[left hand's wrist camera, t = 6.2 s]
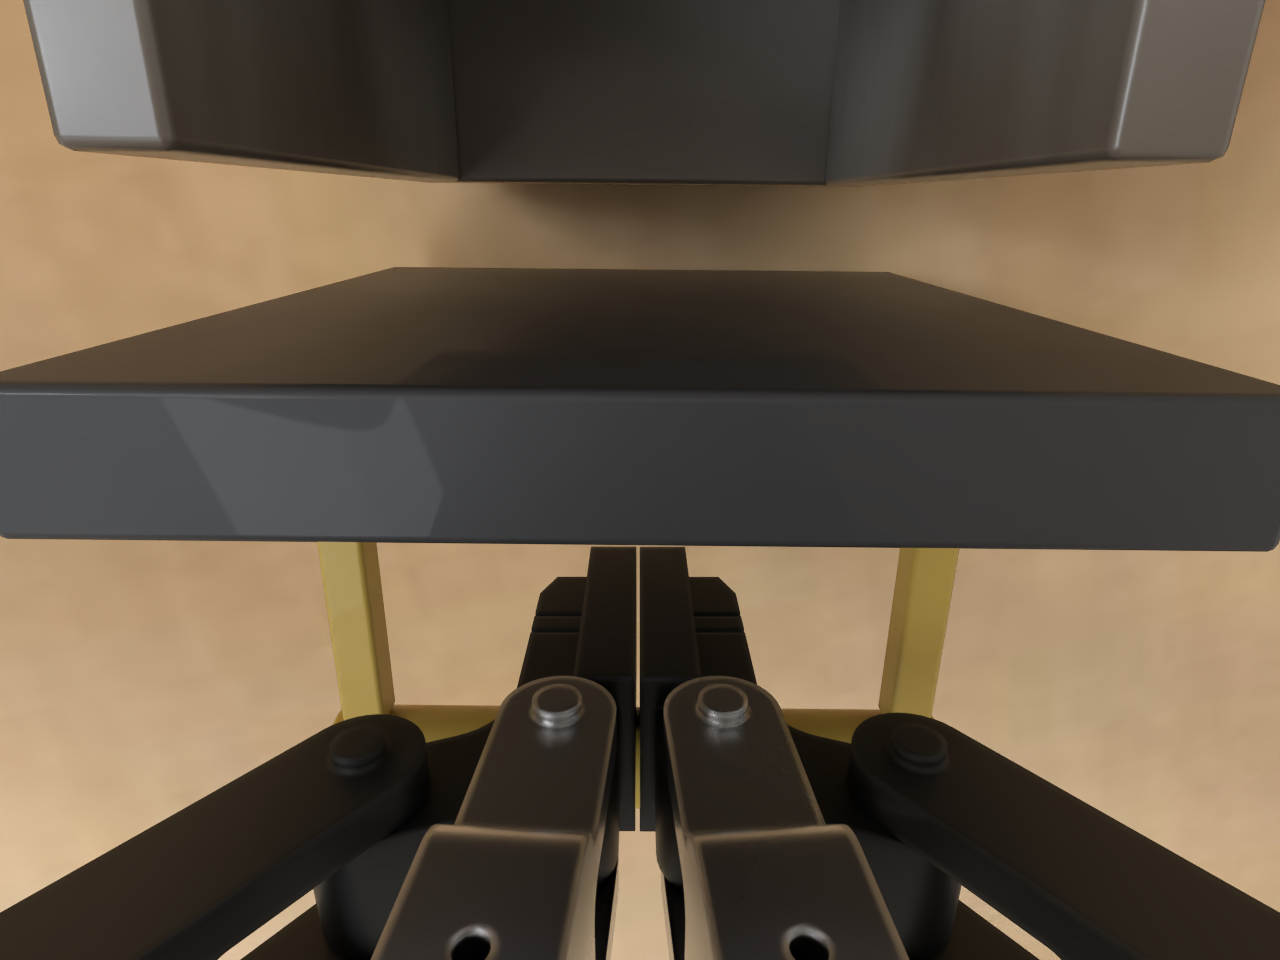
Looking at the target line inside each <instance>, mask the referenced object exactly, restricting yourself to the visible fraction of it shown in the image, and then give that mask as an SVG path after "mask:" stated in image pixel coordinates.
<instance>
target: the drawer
mask: <svg viewBox="0 0 1280 960" xmlns="http://www.w3.org/2000/svg"><path fill="white" fill-rule="evenodd" d="M23 1H24V5H25V10H26V14H27V18H28V23H29V27H30V31H31V36H32V40H33V44H34V49H35V53H36V57H37V62H38V66H39V70H40V75H41V79H42V83H43V88H44V92H45V96H46V101H47V105H48V109H49V114H50V118H51V123H52V127H53V131H54V135H55V137H56V139H57V140H58V142H59V144H61V145H62V146H64V147H67V148H69V149H71V150H74V151H83V152H94V153H105V154H117V155H128V156H139V157H150V158H162V159H173V160H184V161H195V162H206V163H218V164H229V165H240V166H251V167H262V168H274V169H285V170H296V171H307V172H318V173H330V174H341V175H352V176H363V177H374V178H386V179H397V180H408V181H419V182H434V183H532V184H630V185H728V186H826V187H859V186H873V185H888V184H902V183H917V182H931V181H946V180H960V179H974V178H989V177H1003V176H1018V175H1032V174H1047V173H1061V172H1076V171H1090V170H1104V169H1119V168H1133V167H1148V166H1162V165H1177V164H1191V163H1206V162H1211V161H1213V160H1216V159H1219V158H1221V157H1222V156H1224V154H1225V152H1226V151H1227V149H1228V147H1229V143H1230V139H1231V135H1232V131H1233V127H1234V123H1235V119H1236V115H1237V111H1238V107H1239V103H1240V99H1241V95H1242V91H1243V87H1244V83H1245V79H1246V75H1247V71H1248V67H1249V63H1250V59H1251V55H1252V51H1253V47H1254V43H1255V39H1256V35H1257V31H1258V27H1259V23H1260V19H1261V15H1262V11H1263V7H1264V3H1265V0H23ZM0 536H1V537H4V538H7V539H96V540H195V541H293V542H317V544H318V551H319V558H320V564H321V571H322V578H323V585H324V591H325V598H326V605H327V612H328V619H329V625H330V632H331V639H332V646H333V652H334V659H335V666H336V673H337V680H338V686H339V693H340V700H341V707H342V710H341V711H340V712H339V714H338V715H337V717H336V719H335V721H334V724H336V723H339V722H341V721H344V720H347V719H351V718H354V717H359V716H364V715H373V714H388V715H394V716H399V717H402V718H405V719H408V720H409V721H411V722H413V723H414V724H416V725H417V726H418V727H419V728H420V729H421V731H422V732H423V734H424V737H425V741H426V743H427V742H431V741H435V740H440V739H444V738H449V737H453V736H457V735H461V734H465V733H468V732H471V731H473V730H476V729H478V728H480V727H482V726H484V725H486V724H488V723H490V722H491V721H493V720H494V719H495V718H496V716H497V713H498V711H499V708H500V706H462V705H394V702H395V697H394V688H393V680H392V672H391V663H390V655H389V646H388V638H387V629H386V621H385V613H384V604H383V596H382V587H381V579H380V570H379V562H378V554H377V545H376V542H391V543H489V544H588V545H686V546H784V547H882V548H900V554H899V561H898V569H897V576H896V583H895V590H894V597H893V605H892V612H891V619H890V626H889V634H888V641H887V648H886V655H885V662H884V670H883V677H882V684H881V691H880V699H879V709H880V710H855V709H781V711H782V713H783V716H784V718H785V721H786V724H788V725H790V726H792V727H794V728H796V729H798V730H800V731H803V732H806V733H809V734H812V735H816V736H820V737H824V738H829V739H833V740H838V741H842V742H847V743H851V741H852V736H853V733H854V731H855V729H856V728H857V727H858V725H859V724H861V723H862V722H863V721H864V720H866V719H868V718H870V717H873V716H876V715H879V714H885V713H911V714H917V715H922V716H925V717H929V718H932V719H934V718H933V717H932V716H931V714H932V708H933V702H934V696H935V690H936V684H937V678H938V672H939V666H940V660H941V654H942V649H943V643H944V637H945V631H946V625H947V619H948V613H949V607H950V601H951V595H952V589H953V583H954V577H955V571H956V565H957V559H958V553H959V548H981V549H1079V550H1177V551H1270V550H1273V549H1274V548H1275V547H1276V546H1277V545H1278V543H1279V540H1280V385H1277V384H1273V383H1270V382H1266V381H1263V380H1259V379H1256V378H1253V377H1249V376H1246V375H1242V374H1239V373H1235V372H1232V371H1228V370H1225V369H1221V368H1218V367H1214V366H1211V365H1208V364H1204V363H1201V362H1197V361H1194V360H1190V359H1187V358H1183V357H1180V356H1176V355H1173V354H1169V353H1166V352H1162V351H1159V350H1156V349H1152V348H1149V347H1145V346H1142V345H1138V344H1135V343H1131V342H1128V341H1124V340H1121V339H1117V338H1114V337H1111V336H1107V335H1104V334H1100V333H1097V332H1093V331H1090V330H1086V329H1083V328H1079V327H1076V326H1072V325H1069V324H1066V323H1062V322H1059V321H1055V320H1052V319H1048V318H1045V317H1041V316H1038V315H1034V314H1031V313H1027V312H1024V311H1020V310H1017V309H1014V308H1010V307H1007V306H1003V305H1000V304H996V303H993V302H989V301H986V300H982V299H979V298H975V297H972V296H969V295H965V294H962V293H958V292H955V291H951V290H948V289H944V288H941V287H937V286H934V285H930V284H927V283H923V282H920V281H917V280H913V279H910V278H906V277H903V276H899V275H896V274H892V273H889V272H814V271H716V270H618V269H520V268H422V267H394V268H390V269H386V270H382V271H379V272H375V273H371V274H367V275H363V276H360V277H356V278H352V279H348V280H345V281H341V282H337V283H333V284H330V285H326V286H322V287H318V288H314V289H311V290H307V291H303V292H299V293H296V294H292V295H288V296H284V297H280V298H277V299H273V300H269V301H265V302H262V303H258V304H254V305H250V306H247V307H243V308H239V309H235V310H231V311H228V312H224V313H220V314H216V315H213V316H209V317H205V318H201V319H197V320H194V321H190V322H186V323H182V324H179V325H175V326H171V327H167V328H164V329H160V330H156V331H152V332H148V333H145V334H141V335H137V336H133V337H130V338H126V339H122V340H118V341H115V342H111V343H107V344H103V345H99V346H96V347H92V348H88V349H84V350H81V351H77V352H73V353H69V354H65V355H62V356H58V357H54V358H50V359H47V360H43V361H39V362H35V363H32V364H28V365H24V366H20V367H16V368H13V369H9V370H5V371H1V372H0ZM334 724H333V725H334ZM635 808H640V707H636V782H635Z"/></svg>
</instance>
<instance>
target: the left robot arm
mask: <svg viewBox="0 0 1280 960" xmlns="http://www.w3.org/2000/svg"><path fill="white" fill-rule="evenodd" d="M635 782H636V547H591V552H590V559H589V566H588V574H587V577H557V578H556V579H555V580H554V581H553V582H552V583H551V584H550V585H549V586H548V587H547V588H546V589H544V590H543V591H542V592H541V593H540V597H539V601H538V605H537V609H536V616H535V617H534V621H533V625H532V633H530V638H529V642H528V646H527V650H526V654H525V658H524V662H523V666H522V670H521V674H520V678H519V682H518V686H517V689H515V690H514V691H513V692H512V693H510V694H509V695H508V696H507V697H506V698H505V700H504V701H503V702H502V704H501V706H500V708H499V711H498V713H497V716H496V718H495V719H494V720H493V721H491V722H490V723H488V724H486V725H484V726H482V727H480V728H478V729H476V730H473V731H471V732H468V733H465V734H461V735H457V736H453V737H449V738H444V739H440V740H435V741H431V742H427V743H426V741H425V737H424V734H423V732H422V731H421V729H420V728H419V727H418V726H417V725H416V724H414V723H413V722H411V721H409V720H408V719H405V718H402V717H399V716H394V715H388V714H373V715H364V716H359V717H354V718H351V719H347V720H344V721H341V722H339V723H336V724H334V725H332V726H330V727H328V728H326V729H324V730H322V731H320V732H319V733H317V734H315V735H313V736H312V737H310V738H308V739H306V740H305V741H303V742H301V743H299V744H297V745H296V746H294V747H292V748H290V749H289V750H287V751H285V752H283V753H282V754H280V755H278V756H276V757H274V758H273V759H271V760H269V761H267V762H266V763H264V764H262V765H260V766H259V767H257V768H255V769H253V770H252V771H250V772H248V773H246V774H244V775H243V776H241V777H239V778H237V779H236V780H234V781H232V782H230V783H229V784H227V785H225V786H223V787H221V788H220V789H218V790H216V791H214V792H213V793H211V794H209V795H207V796H206V797H204V798H202V799H200V800H199V801H197V802H195V803H193V804H191V805H190V806H188V807H186V808H184V809H183V810H181V811H179V812H177V813H176V814H174V815H172V816H170V817H169V818H167V819H165V820H163V821H161V822H160V823H158V824H156V825H154V826H153V827H151V828H149V829H147V830H146V831H144V832H142V833H140V834H138V835H137V836H135V837H133V838H131V839H130V840H128V841H126V842H124V843H123V844H121V845H119V846H117V847H116V848H114V849H112V850H110V851H108V852H107V853H105V854H103V855H101V856H100V857H98V858H96V859H94V860H93V861H91V862H89V863H87V864H86V865H84V866H82V867H80V868H78V869H77V870H75V871H73V872H71V873H70V874H68V875H66V876H64V877H63V878H61V879H59V880H57V881H55V882H54V883H52V884H50V885H48V886H47V887H45V888H43V889H41V890H40V891H38V892H36V893H34V894H33V895H31V896H29V897H27V898H25V899H24V900H22V901H20V902H18V903H17V904H15V905H13V906H11V907H10V908H8V909H6V910H4V911H3V912H1V913H0V960H218V959H219V958H220V957H221V956H222V955H223V954H224V953H225V952H227V951H228V950H229V949H231V948H232V947H233V946H235V945H236V944H238V943H239V942H240V941H242V940H243V939H244V938H246V937H247V936H249V935H250V934H251V933H253V932H254V931H255V930H257V929H258V928H260V927H261V926H262V925H264V924H265V923H266V922H268V921H269V920H271V919H272V918H273V917H275V916H276V915H278V914H279V913H280V912H282V911H283V910H284V909H286V908H287V907H289V906H290V905H291V904H293V903H294V902H295V901H297V900H298V899H300V898H301V897H302V896H304V895H305V894H307V893H308V892H309V891H311V890H312V889H314V894H315V899H316V904H315V905H314V906H312V907H311V908H310V909H308V910H307V911H306V912H304V913H303V914H301V915H300V916H299V917H297V918H296V919H295V920H293V921H292V922H291V923H289V924H288V925H287V926H285V927H284V928H283V929H281V930H280V931H279V932H277V933H276V934H275V935H273V936H272V937H270V938H269V939H268V940H266V941H265V942H264V943H262V944H261V945H260V946H258V947H257V948H256V949H254V950H253V951H252V952H250V953H249V954H248V955H246V956H245V957H244V958H242V959H241V960H610V958H611V949H612V941H613V932H614V924H615V916H616V907H617V899H618V890H619V868H618V849H619V831H635ZM640 831H656V855H657V862H658V864H659V867H660V869H661V890H662V899H663V907H664V916H665V924H666V933H667V941H668V949H669V958H670V960H1039V959H1038V958H1036V957H1035V956H1034V955H1032V954H1031V953H1030V952H1028V951H1027V950H1026V949H1024V948H1023V947H1022V946H1020V945H1019V944H1018V943H1016V942H1015V941H1014V940H1012V939H1011V938H1010V937H1008V936H1007V935H1005V934H1004V933H1003V932H1001V931H1000V930H999V929H997V928H996V927H995V926H993V925H992V924H991V923H989V922H988V921H987V920H985V919H984V918H983V917H981V916H980V915H979V914H977V913H976V912H974V911H973V910H972V909H970V908H969V907H968V906H966V905H965V904H964V903H962V902H961V901H960V900H958V899H959V895H960V890H961V885H962V886H964V887H965V888H967V889H968V890H969V891H971V892H972V893H973V894H975V895H976V896H978V897H979V898H980V899H982V900H983V901H984V902H986V903H987V904H989V905H990V906H991V907H993V908H994V909H996V910H997V911H998V912H1000V913H1001V914H1002V915H1004V916H1005V917H1007V918H1008V919H1009V920H1011V921H1012V922H1013V923H1015V924H1016V925H1018V926H1019V927H1020V928H1022V929H1023V930H1025V931H1026V932H1027V933H1029V934H1030V935H1031V936H1033V937H1034V938H1036V939H1037V940H1038V941H1040V942H1041V943H1042V944H1044V945H1045V946H1047V947H1048V948H1049V949H1050V950H1052V951H1053V952H1054V953H1055V954H1056V955H1057V956H1058V957H1059V958H1060V959H1061V960H1280V913H1279V912H1277V911H1276V910H1274V909H1272V908H1270V907H1269V906H1267V905H1265V904H1263V903H1262V902H1260V901H1258V900H1256V899H1255V898H1253V897H1251V896H1249V895H1247V894H1246V893H1244V892H1242V891H1240V890H1239V889H1237V888H1235V887H1233V886H1232V885H1230V884H1228V883H1226V882H1224V881H1223V880H1221V879H1219V878H1217V877H1216V876H1214V875H1212V874H1210V873H1209V872H1207V871H1205V870H1203V869H1202V868H1200V867H1198V866H1196V865H1194V864H1193V863H1191V862H1189V861H1187V860H1186V859H1184V858H1182V857H1180V856H1179V855H1177V854H1175V853H1173V852H1172V851H1170V850H1168V849H1166V848H1164V847H1163V846H1161V845H1159V844H1157V843H1156V842H1154V841H1152V840H1150V839H1149V838H1147V837H1145V836H1143V835H1141V834H1140V833H1138V832H1136V831H1134V830H1133V829H1131V828H1129V827H1127V826H1126V825H1124V824H1122V823H1120V822H1119V821H1117V820H1115V819H1113V818H1111V817H1110V816H1108V815H1106V814H1104V813H1103V812H1101V811H1099V810H1097V809H1096V808H1094V807H1092V806H1090V805H1089V804H1087V803H1085V802H1083V801H1081V800H1080V799H1078V798H1076V797H1074V796H1073V795H1071V794H1069V793H1067V792H1066V791H1064V790H1062V789H1060V788H1058V787H1057V786H1055V785H1053V784H1051V783H1050V782H1048V781H1046V780H1044V779H1043V778H1041V777H1039V776H1037V775H1036V774H1034V773H1032V772H1030V771H1028V770H1027V769H1025V768H1023V767H1021V766H1020V765H1018V764H1016V763H1014V762H1013V761H1011V760H1009V759H1007V758H1006V757H1004V756H1002V755H1000V754H998V753H997V752H995V751H993V750H991V749H990V748H988V747H986V746H984V745H983V744H981V743H979V742H977V741H975V740H974V739H972V738H970V737H968V736H967V735H965V734H963V733H961V732H960V731H958V730H956V729H954V728H953V727H951V726H949V725H947V724H945V723H943V722H940V721H937V720H935V719H932V718H929V717H925V716H922V715H917V714H911V713H885V714H879V715H876V716H873V717H870V718H868V719H866V720H864V721H863V722H862V723H861V724H859V725H858V727H857V728H856V729H855V731H854V733H853V736H852V741H851V743H847V742H842V741H838V740H833V739H829V738H824V737H820V736H816V735H812V734H809V733H806V732H803V731H800V730H798V729H796V728H794V727H792V726H790V725H788V724H786V721H785V718H784V716H783V713H782V711H781V708H780V706H779V704H778V702H777V701H776V700H775V699H774V697H773V696H772V695H771V694H770V693H768V692H767V691H766V690H765V689H763V688H761V687H760V686H758V685H757V683H756V678H755V674H754V670H753V666H752V661H751V657H750V653H749V649H748V644H747V640H746V636H745V633H744V627H743V623H742V619H741V617H740V610H739V606H738V602H737V598H736V594H735V593H734V592H733V591H732V590H731V589H730V588H729V587H728V586H727V585H726V584H725V583H724V582H723V581H722V580H721V579H720V578H719V577H689V576H688V568H687V560H686V552H685V547H640Z"/></svg>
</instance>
